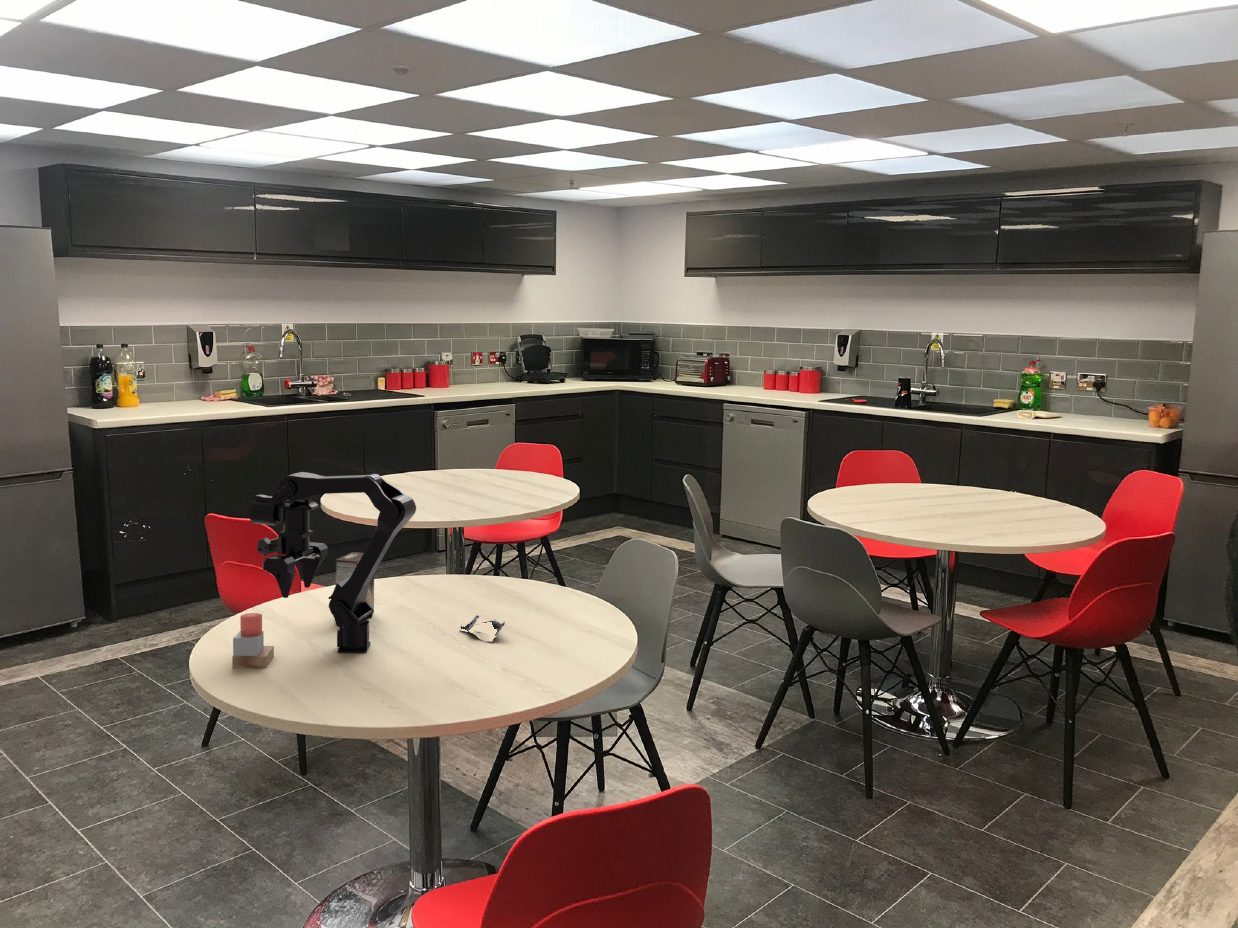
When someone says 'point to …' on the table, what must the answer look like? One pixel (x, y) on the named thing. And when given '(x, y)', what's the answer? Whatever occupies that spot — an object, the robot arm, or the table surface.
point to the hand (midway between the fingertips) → (296, 592)
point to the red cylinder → (251, 624)
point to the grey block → (248, 645)
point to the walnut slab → (254, 659)
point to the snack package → (494, 623)
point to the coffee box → (347, 567)
